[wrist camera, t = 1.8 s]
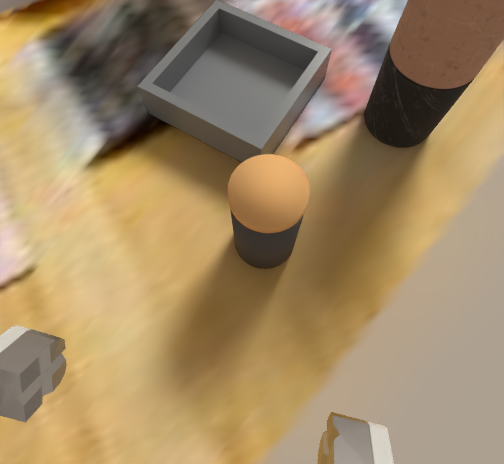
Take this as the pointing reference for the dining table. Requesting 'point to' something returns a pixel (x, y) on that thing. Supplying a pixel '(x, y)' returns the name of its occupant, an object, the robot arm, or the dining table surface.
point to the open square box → (235, 81)
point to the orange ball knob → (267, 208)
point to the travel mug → (431, 65)
